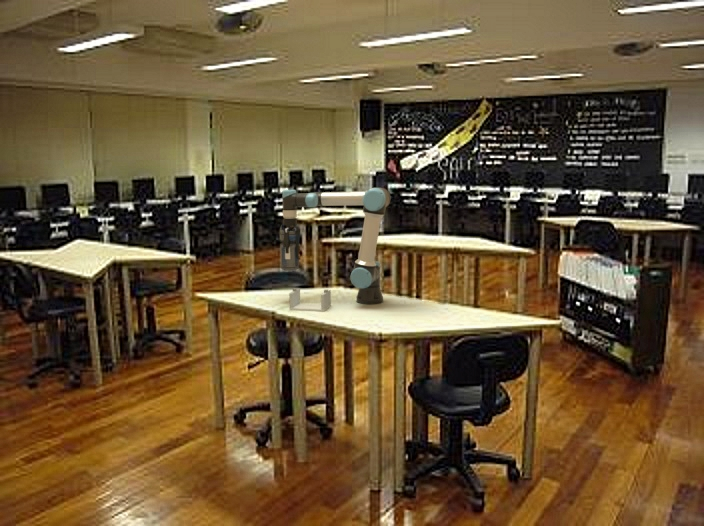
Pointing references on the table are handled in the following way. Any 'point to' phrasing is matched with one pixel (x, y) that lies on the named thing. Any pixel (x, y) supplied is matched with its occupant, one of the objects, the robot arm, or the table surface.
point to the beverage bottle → (294, 249)
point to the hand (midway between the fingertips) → (291, 257)
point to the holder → (296, 305)
